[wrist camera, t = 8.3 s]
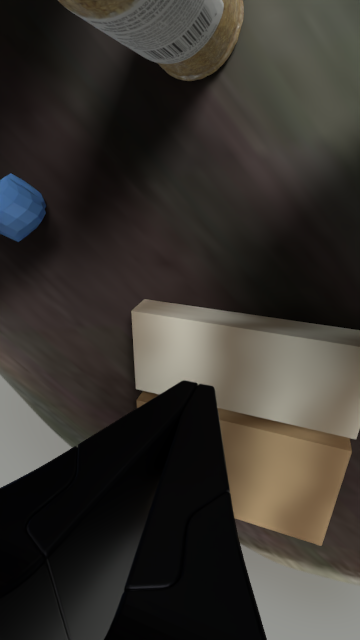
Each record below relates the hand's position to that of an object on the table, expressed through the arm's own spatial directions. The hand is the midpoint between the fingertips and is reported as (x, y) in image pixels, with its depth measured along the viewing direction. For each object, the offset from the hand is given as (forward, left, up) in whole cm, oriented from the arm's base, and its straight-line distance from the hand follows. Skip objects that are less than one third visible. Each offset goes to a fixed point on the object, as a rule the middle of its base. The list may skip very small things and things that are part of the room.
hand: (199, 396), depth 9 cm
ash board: (0, +6, -12) cm, 13 cm away
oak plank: (0, +15, -12) cm, 19 cm away
